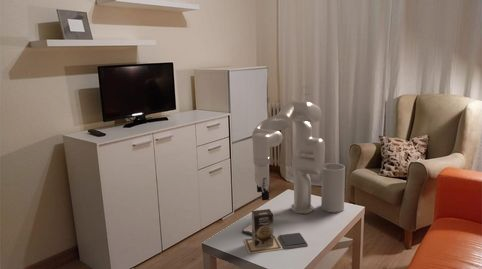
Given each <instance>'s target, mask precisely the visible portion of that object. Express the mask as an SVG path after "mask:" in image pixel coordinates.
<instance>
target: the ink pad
mask: <svg viewBox="0 0 482 269" xmlns="http://www.w3.org/2000/svg"><path fill="white" fill-rule="evenodd" d="M277 239H278V240H279V242H280V244H281V246H282V247H283V248H284V250H288V249H296V248H303V247H308V246H309V245H308V243H307V241H306V240H305V238H304V236H303V234H301V233H300V232H294V233H286V234H279V235H278V237H277Z"/></svg>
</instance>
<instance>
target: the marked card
mask: <svg viewBox="0 0 482 269" xmlns="http://www.w3.org/2000/svg"><path fill="white" fill-rule="evenodd" d="M243 242H244V244H245V247H246V249H247V252H248V254H249V255H251V254H258V253H267V252H273V251H279V250H280V251H281V250H284V249H283V248H284V247H283V245H282V243H281V242H280V240H279V238H278V237H277V236H276V234H275V235H274V234H273V243H274V245H273V246H265V247H258V248H255V246H254V244H253V242H252V237H251V238H244V239H243Z"/></svg>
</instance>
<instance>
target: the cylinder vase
mask: <svg viewBox="0 0 482 269" xmlns="http://www.w3.org/2000/svg"><path fill="white" fill-rule="evenodd" d="M345 175H346V166H345V165H344V164H342V163H337V162H327V163H324V170H323V173H322V174H321V198H320V199H321V209H322V210H323V211H325V212H328V213H340V212H342V211H344V209H345V185H346V184H345V182H346V181H345V180H346V176H345Z"/></svg>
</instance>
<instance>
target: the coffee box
mask: <svg viewBox="0 0 482 269" xmlns="http://www.w3.org/2000/svg"><path fill="white" fill-rule="evenodd" d="M271 210H272V209H270V208H267V209H257V210H251V224H252V237H251V238H252V242H253V244H254V246H255V248H258V247H265V246H273V245H274V243H273V236H274V213H273V212H272V211H271Z"/></svg>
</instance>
